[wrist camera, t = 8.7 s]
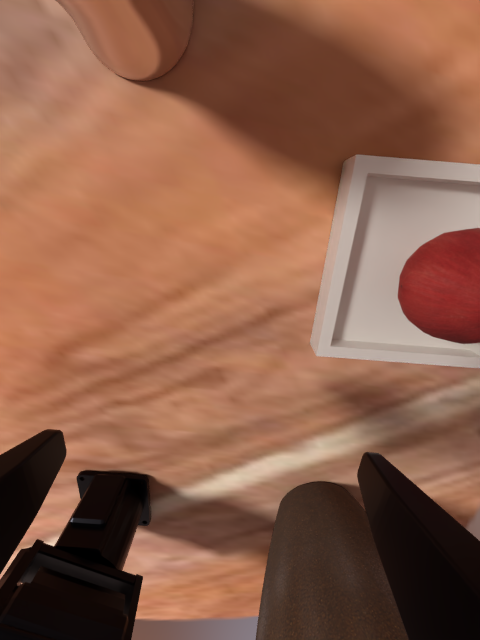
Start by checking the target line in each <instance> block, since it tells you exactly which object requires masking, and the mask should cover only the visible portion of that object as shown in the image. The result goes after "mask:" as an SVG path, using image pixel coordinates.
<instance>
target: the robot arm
mask: <svg viewBox="0 0 480 640" xmlns="http://www.w3.org/2000/svg"><path fill="white" fill-rule="evenodd" d="M65 457H66V446H65V441H64V436H63V432H62V431H60V430H52V429H47V430H44V431H42V432H40V433H39V434H37V435H35V436H33V437H31V438H30V439H28V440H26V441H24V442H23V443H21V444H19V445H17V446H15V447H14V448H12V449H10V450H8V451H7V452H5V453H3V454H1V455H0V574H1V572H2V571H3V569H4V567H5V566H6V564H7V562H8V561H9V559H10V558H11V556H12V554H13V553H14V551H15V549H16V548H17V546H18V545H19V543H20V541H21V540H22V538H23V536H24V535H25V533H26V532H27V530H28V528H29V527H30V525H31V523H32V522H33V520H34V518H35V517H36V515H37V513H38V511H39V509H40V507H41V506H42V504H43V502H44V500H45V498H46V496H47V494H48V492H49V490H50V488H51V486H52V484H53V482H54V480H55V478H56V476H57V474H58V472H59V470H60V468H61V466H62V464H63V462H64V460H65ZM357 477H358V482H359V486H360V490H361V494H362V498H363V502H364V506H365V510H366V514H367V518H368V522H369V526H370V529H371V533H372V536H373V540H374V543H375V546H376V549H377V552H378V554H379V557H380V560H381V563H382V566H383V569H384V571H385V574H386V577H387V580H388V583H389V585H390V588H391V591H392V594H393V597H394V600H395V602H396V605H397V608H398V611H399V614H400V617H401V619H402V622H403V625H404V628H405V631H406V633H407V636H408V639H409V640H480V541H479V540H478V539H477V538H476V537H474V536H473V535H472V534H471V533H470V532H469V531H468V530H466V529H465V528H464V527H463V526H462V525H461V524H460V523H458V522H457V521H456V520H455V519H454V518H453V517H452V516H450V515H449V514H448V513H447V512H446V511H445V510H444V509H442V508H441V507H440V506H439V505H438V504H437V503H436V502H434V501H433V500H432V499H431V498H430V497H429V496H428V495H426V494H425V493H424V492H423V491H422V490H421V489H420V488H418V487H417V486H416V485H415V484H414V483H413V482H412V481H410V480H409V479H408V478H407V477H406V476H405V475H404V474H402V473H401V472H400V471H399V470H398V469H397V468H396V467H394V466H393V465H392V464H391V463H390V462H389V461H388V460H386V459H385V458H384V457H383V456H382V455H380V454H379V453H372V452H365V453H364V454H363V456H362V459H361V463H360V466H359V469H358V474H357ZM77 483H78V488H79V493H80V498H81V500H80V502H79V504H78V506H77V507H76V509H75V511H74V513H73V514H72V516H71V518H70V520H69V521H68V523H67V525H66V527H65V528H64V530H63V532H62V534H61V535H60V537H59V539H58V541H57V542H56V544H55V546H54V547H53V546H51V545H48V544H45V543H43V542H44V541H41V540H39V539H37V540H36V541H35V543H34V544H33V546H32V547H30V548H26V549H21V550H20V551H19V553H18V554H17V556H16V557H15V559H14V560H13V562H12V563H11V565H10V566H9V568H8V569H7V571H6V572H5V574H4V575H3V577H2V578H1V579H0V640H131V637H132V632H133V626H134V622H135V616H136V611H137V606H138V601H139V595H140V590H141V585H142V580H143V576H140V575H138V574H136V575H133V574H130V573H127V572H124V571H122V570H123V567H124V564H125V561H126V558H127V555H128V552H129V549H130V547H131V544H132V541H133V538H134V535H135V532H136V529H137V526H138V525H142V526H147V525H149V524H150V520H151V511H150V496H149V480H148V478H147V477H146V476H144V475H131V474H117V473H103V472H89V471H81V472H80V473H79V474H78V476H77ZM21 583H23V584H21ZM20 584H21V585H20Z"/></svg>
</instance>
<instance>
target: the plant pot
mask: <svg viewBox="0 0 480 640" xmlns="http://www.w3.org/2000/svg"><path fill="white" fill-rule="evenodd" d="M256 640H409V639H408V636H407V633H406V631H405V628H404V625H403V622H402V619H401V617H400V614H399V611H398V608H397V605H396V602H395V600H394V597H393V594H392V591H391V588H390V585H389V583H388V580H387V577H386V574H385V571H384V569H383V566H382V563H381V560H380V557H379V554H378V552H377V549H376V546H375V543H374V540H373V536H372V533H371V529H370V526H369V522H368V518H367V514H366V511H365V510H364V509H363V508H362V507H361V506H360V504H359V503H358V502H357V501H356V500H355V499H354V497H353V496H352V495H351V494H350V493H349V492H348V491H347V490H345V489H344V488H342V487H340V486H338V485H335V484H332V483H327V482H313V483H307V484H304V485H301V486H298V487H296V488H295V489H293V490H291V491H290V492H289V493H287V494H286V495H285V497H284V498H283V499H282V501H281V503H280V506H279V509H278V513H277V518H276V522H275V526H274V530H273V535H272V540H271V544H270V549H269V554H268V560H267V565H266V571H265V577H264V583H263V589H262V596H261V603H260V610H259V617H258V625H257V633H256Z"/></svg>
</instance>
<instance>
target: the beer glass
mask: <svg viewBox="0 0 480 640" xmlns="http://www.w3.org/2000/svg"><path fill="white" fill-rule="evenodd" d="M55 1H56V2H58V3H59V4H60V5H61V6H62V7H63V8H64V9H65V11H66V12H67V13H68V14H69V16H70V17H71V18H72V20H73V21H74V23H75V24H76V26H77V28H78V29H79V31H80V33H81V35H82V37H83V38H84V40H85V42H86V44H87V45H88V47H89V48H90V50H91V51H92V52H93V54H94V55H95V56H96V57H97V59H98V60H99V61H100V62H101V63H102V64H103V65H104V66H106V67H107V68H108V69H109V70H111V71H112V72H114V73H116V74H118V75H120V76H122V77H124V78H127V79H131V80H136V81H146V80H152V79H155V78H158V77H160V76H162V75H164V74H165V73H167V72H168V71H169V70H171V69H172V68H173V67H174V66H175V65H176V63H177V62H178V61H179V59H180V58H181V56H182V55H183V53H184V51H185V49H186V47H187V44H188V41H189V38H190V35H191V30H192V24H193V0H55Z"/></svg>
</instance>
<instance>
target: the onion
mask: <svg viewBox="0 0 480 640" xmlns="http://www.w3.org/2000/svg"><path fill="white" fill-rule="evenodd" d="M398 300H399V303H400V306H401V309H402V311H403V314H404V315H405V316H406V318H407V319H408V320H409V321H410V322H411V323H412V324H414V325H415V326H416V327H417V328H419V329H420V330H421V331H422V332H424V333H426V334H428V335H430V336H432V337H435V338H439V339H443V340H447V341H451V342H455V343H460V344H473V343H480V228H473V229H465V230H459V231H452V232H446V233H443V234H441V235H439V236H437V237H435V238H434V239H432V240H430V241H428V242H426V243H424V244H423V245H422V246H420V247H419V248H418V249H417V250H416V251H415V252H414V253H413V254H412V255H411V256H410V257H409V258H408V259H407V260H406V263H405V265H404V267H403V269H402V272H401V274H400V277H399V287H398Z"/></svg>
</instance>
